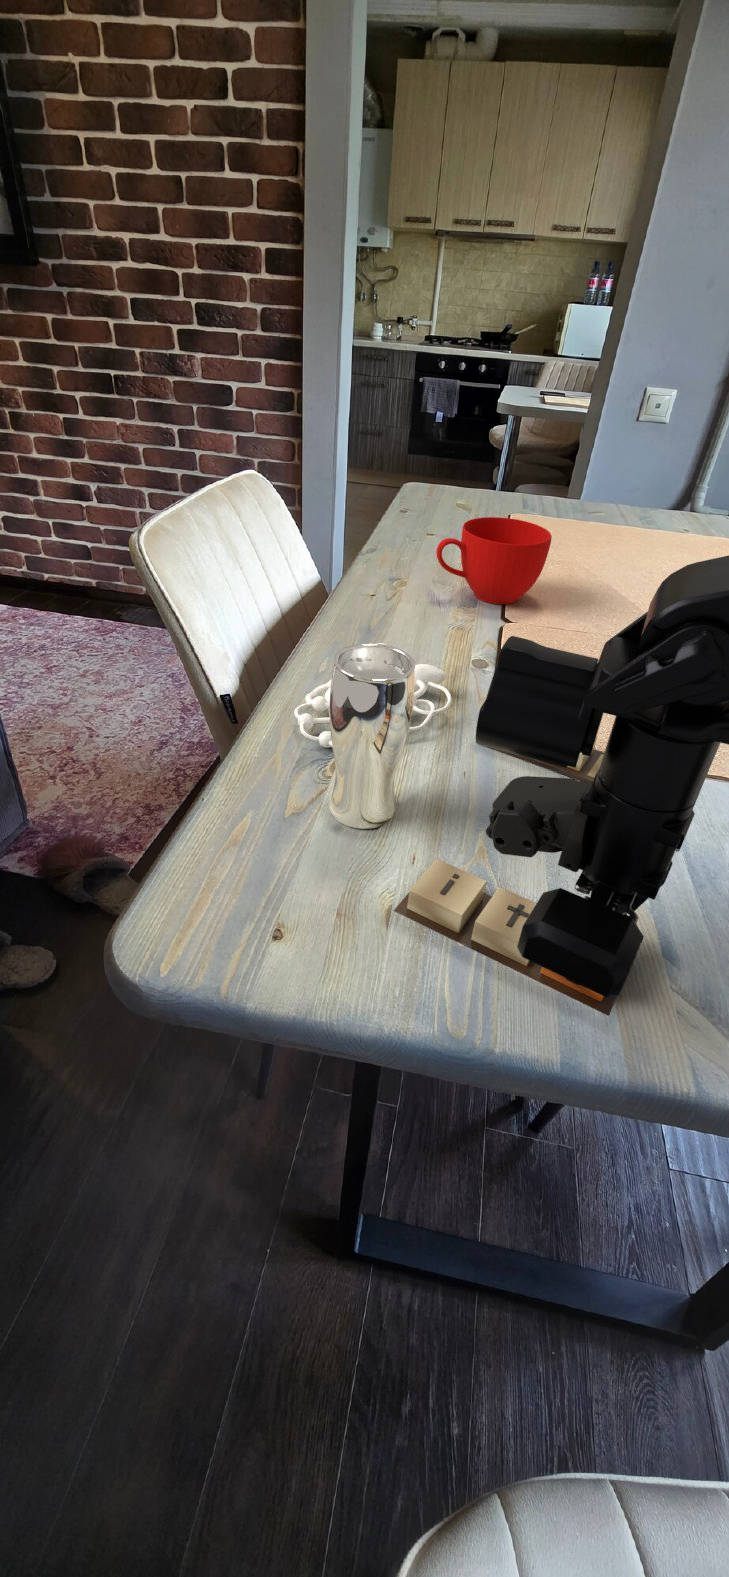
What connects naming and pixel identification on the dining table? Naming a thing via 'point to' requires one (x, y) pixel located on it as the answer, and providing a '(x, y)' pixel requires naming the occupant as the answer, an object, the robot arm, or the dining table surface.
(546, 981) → the front word
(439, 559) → the ceramic cup
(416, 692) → the tangled rod sculpture
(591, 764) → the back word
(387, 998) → the dining table surface
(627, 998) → the dining table surface
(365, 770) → the beer glass
